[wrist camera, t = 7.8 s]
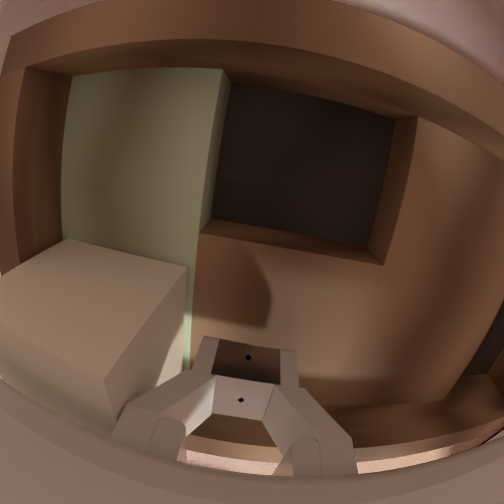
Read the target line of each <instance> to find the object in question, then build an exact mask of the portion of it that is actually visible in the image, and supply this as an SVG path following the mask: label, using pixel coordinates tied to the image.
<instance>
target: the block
mask: <svg viewBox="0 0 504 504" xmlns="http://www.w3.org/2000/svg"><path fill="white" fill-rule="evenodd" d="M187 268H188V267H185V266H180V265H176V264H172V263H167V262H163V261H159V260H154V259H150V258H146V257H142V256H138V255H133V254H129V253H125V252H121V251H117V250H113V249H109V248H105V247H101V246H97V245H93V244H89V243H85V242H81V241H78V240H74V239H70V238H67V239H65V240H63V241H62V242H60V243H58V244H56V245H54V246H52V247H50V248H48V249H47V250H45V251H43V252H41V253H39V254H38V255H36V256H34V257H32V258H31V259H29V260H27V261H25V262H24V263H22V264H20V265H19V266H17V267H15V268H14V269H12V270H10V271H9V272H7V273H6V274H4V275H2V276H1V277H0V375H1V377H2V379H3V381H5V382H6V383H8V384H9V385H10V386H12V387H13V388H15V389H16V390H18V391H19V392H21V393H22V394H24V395H25V396H27V397H28V398H30V399H32V400H33V401H35V402H37V403H38V404H40V405H42V406H43V407H45V408H47V409H48V410H50V411H52V412H54V413H56V414H58V415H59V416H61V417H63V418H65V419H67V420H69V421H71V422H73V423H75V424H77V425H79V426H81V427H83V428H86V429H88V430H90V431H92V432H94V433H97V434H99V435H101V436H104V437H106V438H110V436H111V434H112V432H113V430H114V428H115V426H116V424H117V422H118V420H119V418H120V416H121V414H122V412H123V410H124V408H125V406H126V404H127V403H129V402H130V401H132V400H134V399H136V398H138V397H140V396H141V395H143V394H145V393H147V392H148V391H150V390H152V389H154V388H156V387H157V386H159V385H161V384H162V383H164V382H166V381H168V380H169V379H171V378H173V377H174V376H176V375H178V374H179V373H181V372H182V358H183V330H184V311H185V295H186V280H187Z"/></svg>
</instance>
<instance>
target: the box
mask: <svg viewBox="0 0 504 504" xmlns="http://www.w3.org/2000/svg"><path fill="white" fill-rule="evenodd" d="M67 238H70V239H74V240H78V241H81V242H85V243H89V244H93V245H97V246H101V247H105V248H109V249H113V250H117V251H121V252H125V253H129V254H133V255H138V256H142V257H146V258H150V259H154V260H159V261H163V262H167V263H172V264H176V265H180V266H185V267H188V268H187V280H186V295H185V311H184V330H183V358H182V372H183V371H184V370H186V369H187V370H191V369H192V366H193V364H194V361H195V358H196V355H197V352H198V349H199V346H200V343H201V340H202V338H203V336H204V335H206V336H210V337H215V338H219V339H220V338H221V339H225V340H230V341H235V342H240V343H245V344H251V345H257V346H263V347H270V348H278V349H279V348H281V349H290V350H295V351H296V356H297V366H298V377H299V387H300V388H305V389H306V390H307V392H308V393H309V394H310V395H311V396H312V397H313V398H314V399H315V400H316V401H317V402H318V403H319V405H320V406H321V407H322V408H323V409H324V410H325V411H326V412H327V413H328V414H329V415H330V416H331V417H332V418H333V419H334V420H335V421H336V422H337V423H338V425H339V426H340V427H341V428H342V429H343V430H344V431H345V432H346V433H347V434H348V435H349V436H350V437H351V438H352V443H353V448H354V453H355V459H356V462H364V461H373V460H381V459H389V458H395V457H401V456H407V455H412V454H417V453H422V452H426V451H431V450H435V449H439V448H443V447H446V446H450V445H453V444H457V443H460V442H463V441H466V440H469V439H472V438H475V437H478V436H481V435H484V434H486V433H489V432H492V431H494V430H497V429H499V428H501V427H504V85H503V84H501V83H500V82H499V81H498V80H496V79H495V78H494V77H492V76H491V75H490V74H488V73H487V72H485V71H484V70H483V69H481V68H480V67H478V66H477V65H475V64H474V63H472V62H471V61H469V60H468V59H466V58H465V57H463V56H461V55H460V54H458V53H456V52H455V51H453V50H451V49H450V48H448V47H446V46H444V45H443V44H441V43H439V42H437V41H435V40H433V39H431V38H429V37H427V36H425V35H423V34H421V33H419V32H417V31H415V30H413V29H411V28H409V27H406V26H404V25H402V24H399V23H397V22H395V21H392V20H390V19H387V18H384V17H382V16H379V15H376V14H374V13H371V12H368V11H365V10H362V9H359V8H355V7H352V6H349V5H345V4H342V3H338V2H334V1H330V0H105V1H101V2H97V3H94V4H90V5H87V6H84V7H80V8H77V9H74V10H71V11H68V12H66V13H63V14H60V15H57V16H55V17H52V18H50V19H47V20H45V21H43V22H40V23H38V24H36V25H34V26H31V27H29V28H27V29H25V30H23V31H21V32H19V33H17V34H15V35H13V36H11V40H10V43H9V46H8V49H7V53H6V56H5V60H4V64H3V68H2V72H1V76H0V272H1V276H2V275H4V274H6V273H7V272H9V271H10V270H12V269H14V268H15V267H17V266H19V265H20V264H22V263H24V262H25V261H27V260H29V259H31V258H32V257H34V256H36V255H38V254H39V253H41V252H43V251H45V250H47V249H48V248H50V247H52V246H54V245H56V244H58V243H60V242H62V241H63V240H65V239H67ZM186 449H187V450H191V451H196V452H200V453H205V454H211V455H216V456H222V457H228V458H235V459H243V460H251V461H261V462H273V463H280V462H281V460H282V459H283V456H282V454H281V452H280V451H279V449H278V448H277V446H276V444H275V443H274V441H273V439H272V438H271V436H270V435H269V433H268V431H267V430H266V428H265V426H264V424H263V423H262V421H260V420H253V419H247V418H241V417H235V416H228V415H221V414H215V413H211V415H210V416H209V417H208V418H207V419H206V420H205V421H204V422H202V423H201V424H200V425H199V426H198V427H197V428H196V429H194V430H193V431H192V432H191V433H190V434H189V435H188V436H186Z"/></svg>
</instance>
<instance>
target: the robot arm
mask: <svg viewBox="0 0 504 504" xmlns="http://www.w3.org/2000/svg"><path fill="white" fill-rule="evenodd" d="M211 413H215V414H221V415H228V416H235V417H241V418H247V419H253V420H260V421H262V423H263V424H264V426H265V428H266V430H267V431H268V433H269V435H270V436H271V438H272V439H273V441H274V443H275V444H276V446H277V448H278V449H279V451H280V452H281V454H282V456H283V459H282V460H281V462H280V463H279V465H278V466H277V468H276V469H275V471H274V472H273V474H272V475H258V474H248V473H240V472H233V471H226V470H219V469H214V468H208V467H203V466H198V465H193V464H189V463H187V456H186V436H188V435H189V434H190V433H191V432H192V431H193V430H194V429H196V428H197V427H198V426H199V425H200V424H201V423H202V422H204V421H205V420H206V419H207V418H208V417H209V416H210V415H211ZM0 504H504V430H503V431H501V432H500V433H499V434H497V435H496V436H494V437H493V438H491V439H490V440H489V441H487V442H486V443H484V444H482V445H480V446H477V447H475V448H472V449H469V450H466V451H463V452H460V453H457V454H454V455H451V456H448V457H445V458H441V459H438V460H434V461H430V462H426V463H422V464H418V465H413V466H409V467H404V468H398V469H393V470H387V471H380V472H373V473H365V474H358V470H357V465H356V459H355V453H354V448H353V443H352V438H351V437H350V436H349V435H348V434H347V433H346V432H345V431H344V430H343V429H342V428H341V427H340V426H339V425H338V423H337V422H336V421H335V420H334V419H333V418H332V417H331V416H330V415H329V414H328V413H327V412H326V411H325V410H324V409H323V408H322V407H321V406H320V405H319V403H318V402H317V401H316V400H315V399H314V398H313V397H312V396H311V395H310V394H309V393H308V392H307V390H306V389H305V388H300V387H299V377H298V366H297V356H296V351H295V350H290V349H281V348H279V349H278V348H270V347H263V346H257V345H251V344H245V343H240V342H235V341H230V340H225V339H221V338H220V339H219V338H215V337H210V336H206V335H204V336H203V338H202V340H201V343H200V346H199V349H198V352H197V355H196V358H195V361H194V364H193V366H192V369H191V370H187V369H186V370H184V371H183V372H181V373H179V374H178V375H176V376H174V377H173V378H171V379H169V380H168V381H166V382H164V383H162V384H161V385H159V386H157V387H156V388H154V389H152V390H150V391H148V392H147V393H145V394H143V395H141V396H140V397H138V398H136V399H134V400H132V401H130V402H129V403H127V404H126V406H125V408H124V410H123V412H122V414H121V416H120V418H119V420H118V422H117V424H116V426H115V428H114V430H113V432H112V434H111V436H110V438H106V437H104V436H101V435H99V434H97V433H94V432H92V431H90V430H88V429H86V428H83V427H81V426H79V425H77V424H75V423H73V422H71V421H69V420H67V419H65V418H63V417H61V416H59V415H58V414H56V413H54V412H52V411H50V410H48V409H47V408H45V407H43V406H42V405H40V404H38V403H37V402H35V401H33V400H32V399H30V398H28V397H27V396H25V395H24V394H22V393H21V392H19V391H18V390H16V389H15V388H13V387H12V386H10V385H9V384H8V383H6V382H5V381H3V380H2V379H1V378H0Z"/></svg>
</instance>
